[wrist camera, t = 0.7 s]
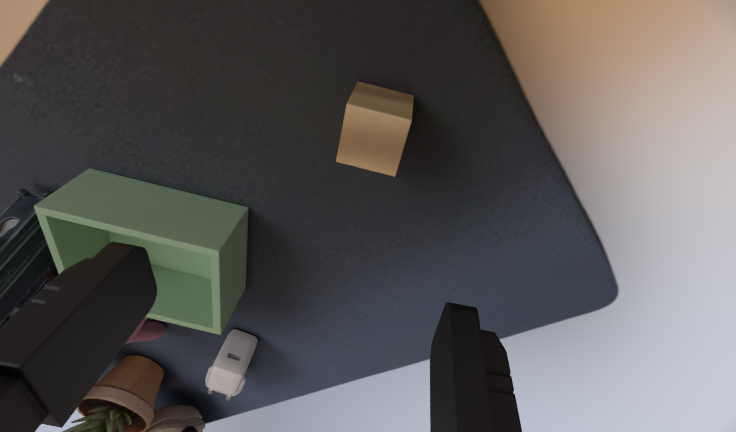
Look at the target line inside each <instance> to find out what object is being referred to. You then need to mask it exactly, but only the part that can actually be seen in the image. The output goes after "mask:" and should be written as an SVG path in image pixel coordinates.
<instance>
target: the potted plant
mask: <svg viewBox="0 0 736 432" xmlns="http://www.w3.org/2000/svg"><path fill="white" fill-rule="evenodd" d="M163 375H164V371H163V369H162V368H161V367H160V366H159V365H158V364H156V363H155V362H154V361H152V360H150V359H148V358H146V357H143V356H138V355H130V356H126V357H125V358H124V359H123V360H122V361H121V362H120V363H119V364H118V365H117V366H116V367H114V368H113V369H112V370H111V371H110V372H109V373H108V374H107V375H105V376H104V377H103V378H102V379H101V380H100V381H98V382H97V383H96V384H95V385H94V386H93V387H92V388H91V390H90V391H89V392H88V394H87V395H86V396H85V398H84V399H83V400H82V402H81V403H80V404H79V406H78V407H77V410H78V411H79V413H80V414H82V415H83V416H84V418H81V419H78V420H75V421H73V422H72V423H75V422H81V421H86V422H84V423H81V424H79V425H76V426H74V427H71V428H69V429H67V430H65V431H63V432H145V431H146V430H147V429H148V427H149V425H150V423H151V422H152V420H153V418H154V413H153V408H154V404H155V400H156V396H157V393H158V390H159V387H160V383H161V381H162V378H163Z"/></svg>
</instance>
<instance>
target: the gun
mask: <svg viewBox="0 0 736 432" xmlns="http://www.w3.org/2000/svg"><path fill="white" fill-rule="evenodd" d="M15 193H16V194H17V195H18V197H17V198H16V199H15V200H14V201H13V202H12V203H11V204H10V205H9V206H8V207H7V208H6V209H5V210H4V211H3V212H2V213H1V214H0V325H1V324H2V323H3V322H4V321H5V319H6V318H7V317H8V316H9V314H10V313H11V312H12V311H13V310H14V308H22V307H23V306H24V305H26V304H27V303H30V302H31V301H32V298H33V297H34V296H36V295H37V294H38V293H39V292H40V291H41V290H42V289H43V287H45V288H46V286H47V285H48V284H49V283H50V282H51V281H52V280H53V279H54V278H55V277H57V276H58V275H59V273H58V271H57V268H56V265H55V263H54V260H53V257H52V255H51V252H50V249H49V247H48V244H47V241H46V239H45V236H44V233H43V231H42V228H41V225H40V222H39V220H38V217H37V213H36V211H35V209H34V205H36V204H37V203H39V202H40V201H42V200H43V199H45V198H46V197H48V194H46V193H42V194H41V195H36V194H32V193H29V192H28V190H26V189H24V188H19V189H18V190H17V191H16V192H15Z"/></svg>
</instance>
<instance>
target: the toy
mask: <svg viewBox="0 0 736 432" xmlns="http://www.w3.org/2000/svg"><path fill="white" fill-rule="evenodd" d="M153 413H154V418H153V420H152V422H151V423H150V425H149V427H148V429H147V430H146V431H145V432H202V430H203V429H204V428H205V423H204V421H203V420H202V416H201V414H200V413H199V411H198V410H197V409H196V408H194V407H192V406H187V405H170V406H165V407H162V408H160V409H158V410H153Z"/></svg>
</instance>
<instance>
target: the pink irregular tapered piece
mask: <svg viewBox="0 0 736 432" xmlns="http://www.w3.org/2000/svg"><path fill="white" fill-rule="evenodd" d="M146 319H147V317H145V318H144V319H143V321H142V322H141V323H140V325H139V326H138V327H137V329H136V330H135V331H134V333H133V334H132V335H131V337H130V338H129V339H128V341H127V342H126V343H125V344H128V343H131V342H137V341H148V340H154V339H157V338H159V337H161V336H162V335H163V334H164V333H165V326H164V325H163V324H162V323H160V322H157V321H153V320H146Z"/></svg>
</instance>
